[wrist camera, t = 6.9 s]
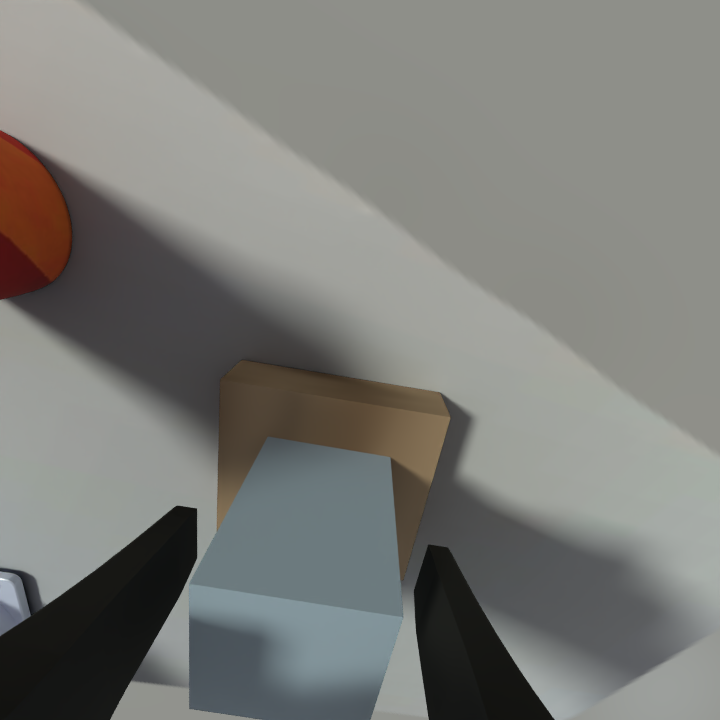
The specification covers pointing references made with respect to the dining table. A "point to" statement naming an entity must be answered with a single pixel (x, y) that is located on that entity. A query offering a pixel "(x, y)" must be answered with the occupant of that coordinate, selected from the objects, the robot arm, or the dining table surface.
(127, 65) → the dining table surface
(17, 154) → the paper cup
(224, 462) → the base
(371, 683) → the block
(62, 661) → the robot arm
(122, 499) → the dining table surface
